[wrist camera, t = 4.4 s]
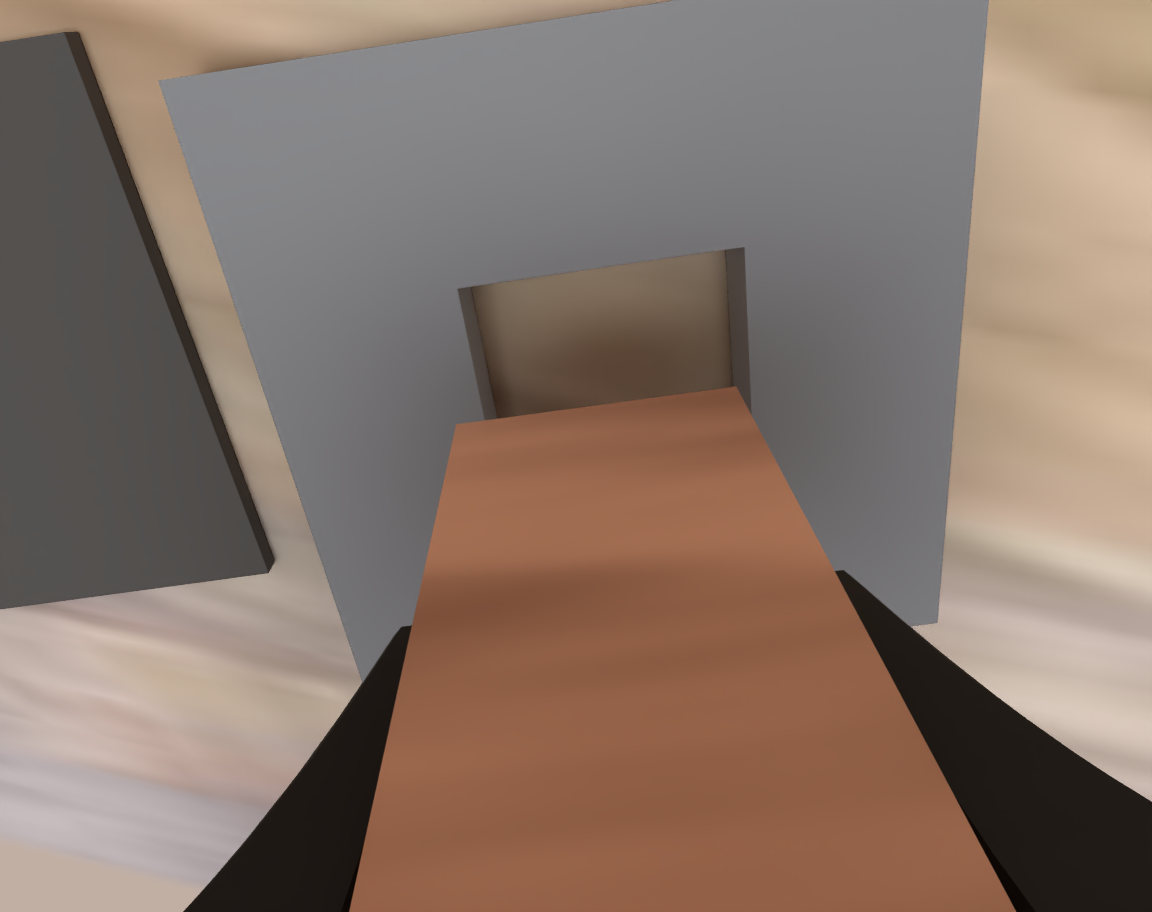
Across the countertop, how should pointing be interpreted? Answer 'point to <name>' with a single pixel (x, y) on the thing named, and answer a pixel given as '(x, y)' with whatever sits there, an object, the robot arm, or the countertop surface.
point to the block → (649, 692)
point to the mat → (98, 365)
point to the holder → (606, 249)
